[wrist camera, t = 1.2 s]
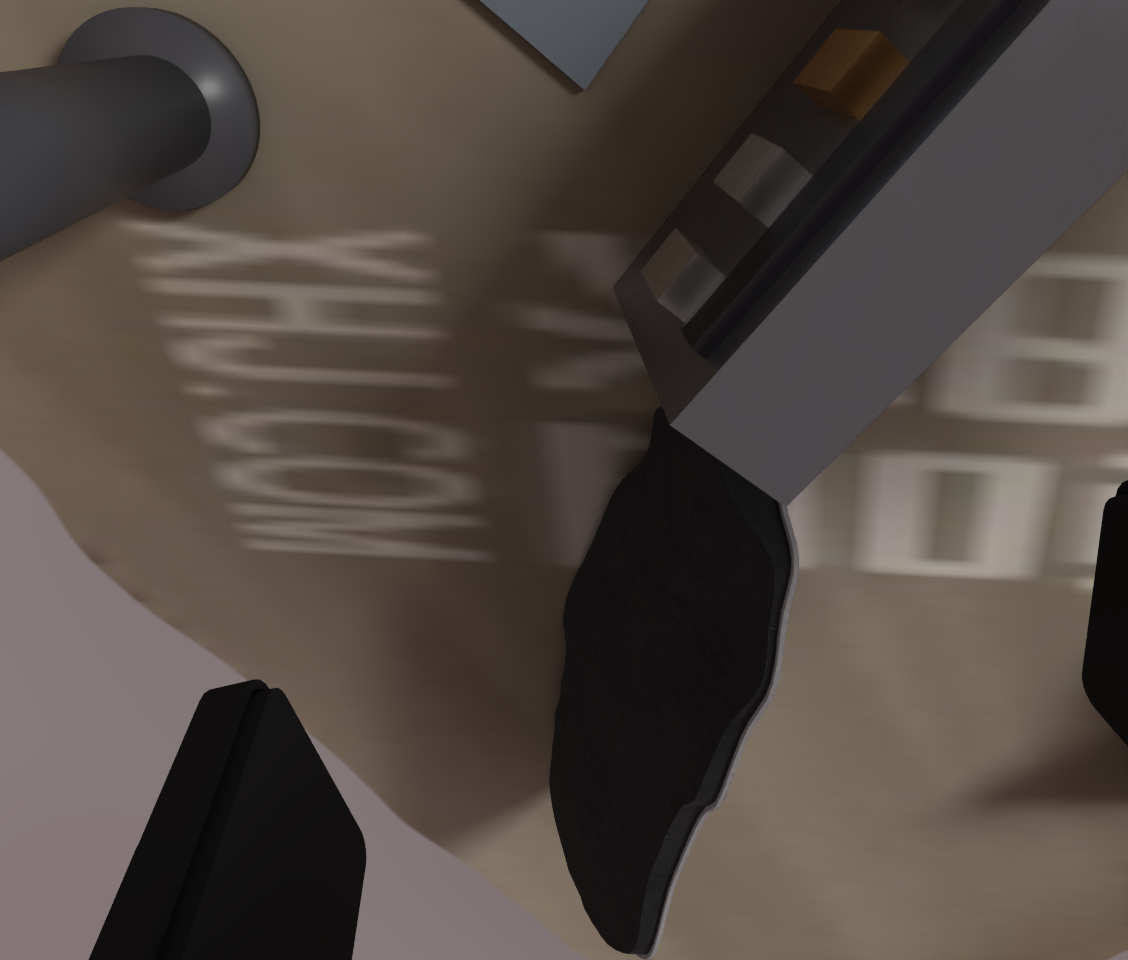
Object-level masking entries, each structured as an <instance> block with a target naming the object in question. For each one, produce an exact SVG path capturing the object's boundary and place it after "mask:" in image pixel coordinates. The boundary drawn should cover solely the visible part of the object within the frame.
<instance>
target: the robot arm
mask: <svg viewBox="0 0 1128 960" xmlns="http://www.w3.org/2000/svg"><path fill="white" fill-rule="evenodd" d="M1082 681H1083V686H1084V689H1085V692H1086V694H1087V696H1088V698H1089V700H1090V702H1091V703H1092V705H1093V706H1094V708H1095V709H1096V710H1097V711H1098V712H1099V714H1100V715H1101V716H1102V717H1103V718H1104V719H1105V720H1106V722H1107V723H1108V724H1109V725H1110V726H1111V727H1112V729H1113V730H1114V731H1115V732H1116V733H1117V734H1118V736H1119V737H1120V738H1121V739H1122V740H1123V741H1124V742H1125V744H1126V745H1127V746H1128V480H1127V481H1125V482H1123V483H1122V484H1121V485H1120V487H1119V488H1118V490H1117V493H1116V497H1113V498H1110V499H1109V500H1108V501H1107V502H1106V503H1105V507H1104V511H1103V518H1102V526H1101V533H1100V541H1099V548H1098V556H1097V564H1096V571H1095V579H1094V586H1093V594H1092V601H1091V609H1090V617H1089V624H1088V632H1087V639H1086V647H1085V654H1084V662H1083V670H1082ZM365 866H366V848H365V842H364V838H363V834H362V832H361V830H360V828H359V826H358V825H357V823H356V821H355V819H354V817H353V816H352V814H351V812H350V810H349V808H348V807H347V805H346V803H345V801H344V799H343V798H342V796H341V794H340V792H339V790H338V789H337V787H336V785H335V783H334V782H333V780H332V778H331V776H330V774H329V773H328V771H327V769H326V767H325V765H324V763H323V762H322V760H321V758H320V756H319V754H318V753H317V751H316V749H315V747H314V745H313V744H312V742H311V740H310V738H309V736H308V735H307V733H306V731H305V729H304V727H303V726H302V724H301V722H300V720H299V718H298V717H297V715H296V713H295V711H294V710H293V708H292V706H291V704H290V702H289V701H288V699H287V697H286V695H285V694H284V693H283V691H282V690H280V689H279V688H273V689H269V688H268V686H267V685H266V684H265V683H264V682H263V681H261V680H250V681H246V682H241V683H237V684H233V685H228V686H224V687H220V688H215V689H211V690H209V691H207V692H206V693H204V695H203V696H202V698H201V700H200V701H199V704H198V706H197V708H196V711H195V713H194V715H193V718H192V720H191V722H190V725H189V727H188V729H187V732H186V734H185V736H184V739H183V741H182V744H181V746H180V748H179V750H178V753H177V755H176V757H175V760H174V762H173V764H172V767H171V769H170V772H169V774H168V776H167V779H166V781H165V783H164V786H163V788H162V790H161V793H160V795H159V797H158V800H157V802H156V805H155V807H154V809H153V811H152V814H151V816H150V819H149V821H148V823H147V825H146V828H145V830H144V832H143V835H142V838H141V840H140V842H139V844H138V846H137V848H136V850H135V852H134V855H133V857H132V859H131V862H130V864H129V867H128V869H127V872H126V873H125V876H124V878H123V881H122V883H121V885H120V888H119V890H118V892H117V895H116V897H115V899H114V902H113V904H112V907H111V909H110V911H109V914H108V916H107V918H106V920H105V923H104V925H103V927H102V930H101V932H100V934H99V937H98V939H97V942H96V944H95V946H94V948H93V951H92V953H91V955H90V958H89V960H352V954H353V947H354V941H355V934H356V927H357V921H358V914H359V907H360V900H361V894H362V887H363V880H364V874H365Z"/></svg>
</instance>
